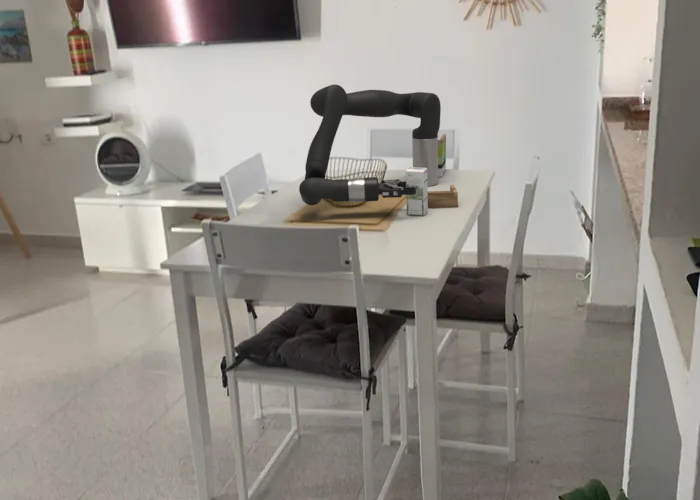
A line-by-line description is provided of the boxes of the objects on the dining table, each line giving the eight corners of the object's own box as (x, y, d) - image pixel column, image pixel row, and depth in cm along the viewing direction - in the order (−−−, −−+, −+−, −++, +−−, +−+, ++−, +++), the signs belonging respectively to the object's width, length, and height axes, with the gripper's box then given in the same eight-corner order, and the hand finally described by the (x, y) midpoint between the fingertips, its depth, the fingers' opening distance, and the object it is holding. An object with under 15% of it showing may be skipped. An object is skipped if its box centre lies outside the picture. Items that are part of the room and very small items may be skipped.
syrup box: (428, 211, 238) (427, 166, 234) (423, 216, 233) (423, 170, 229) (410, 210, 240) (410, 166, 236) (406, 215, 235) (405, 170, 230)
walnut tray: (421, 200, 253) (420, 185, 251) (453, 199, 252) (453, 184, 251) (423, 208, 242) (423, 193, 241) (457, 207, 242) (457, 192, 240)
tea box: (443, 177, 286) (443, 139, 281) (417, 177, 288) (416, 139, 283) (446, 169, 300) (446, 132, 295) (421, 169, 302) (420, 133, 297)
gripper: (362, 182, 227) (416, 180, 226) (362, 173, 240) (413, 171, 240) (363, 206, 229) (416, 204, 228) (363, 195, 243) (413, 193, 242)
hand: (414, 187), depth 234 cm, fingers open, 8 cm apart
